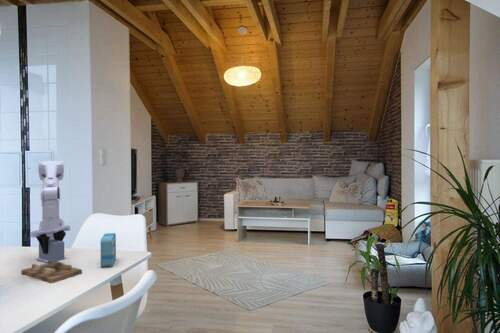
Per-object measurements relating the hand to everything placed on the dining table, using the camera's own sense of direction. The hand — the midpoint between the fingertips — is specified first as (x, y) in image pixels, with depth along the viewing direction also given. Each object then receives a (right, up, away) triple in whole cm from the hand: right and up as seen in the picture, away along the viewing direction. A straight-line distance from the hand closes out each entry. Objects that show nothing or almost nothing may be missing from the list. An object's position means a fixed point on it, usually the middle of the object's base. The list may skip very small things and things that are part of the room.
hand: (51, 252), depth 135 cm
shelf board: (0, -9, 0) cm, 8 cm away
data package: (+17, -9, +14) cm, 23 cm away
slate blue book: (0, -3, 0) cm, 3 cm away
